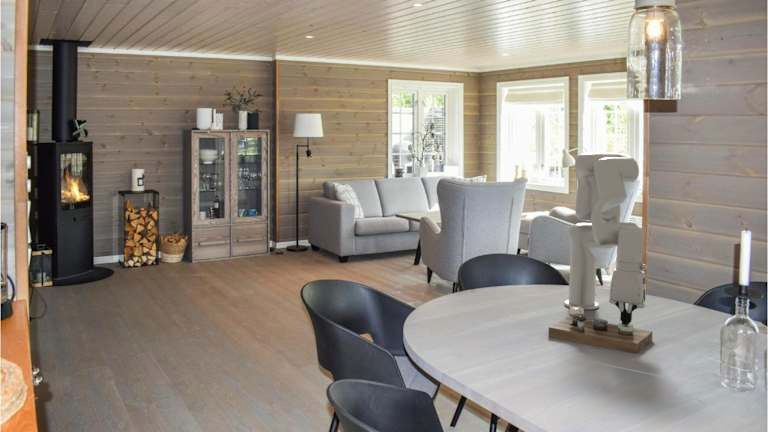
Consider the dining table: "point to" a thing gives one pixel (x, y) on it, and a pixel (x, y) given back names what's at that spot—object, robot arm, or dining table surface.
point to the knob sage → (625, 329)
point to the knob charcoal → (600, 324)
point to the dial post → (581, 322)
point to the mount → (601, 336)
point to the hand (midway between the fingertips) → (625, 323)
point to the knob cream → (574, 312)
